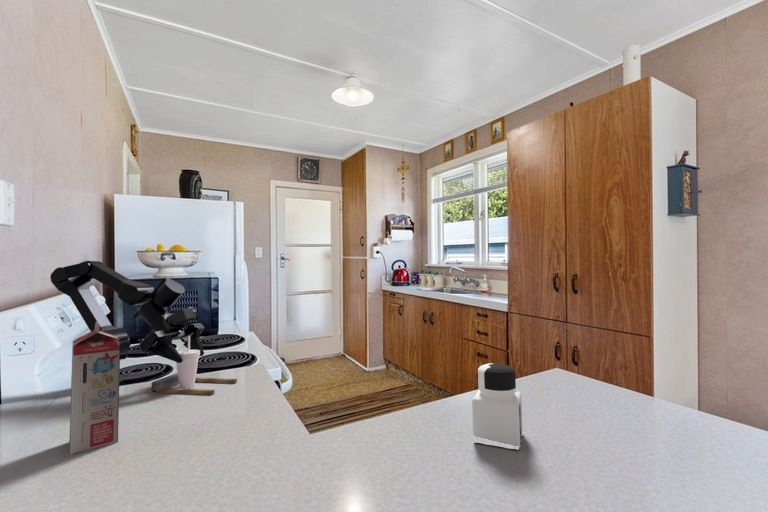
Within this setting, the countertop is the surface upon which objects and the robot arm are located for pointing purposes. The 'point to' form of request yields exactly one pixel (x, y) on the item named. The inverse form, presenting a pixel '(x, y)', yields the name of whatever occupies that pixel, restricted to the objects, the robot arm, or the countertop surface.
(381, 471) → the countertop surface
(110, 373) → the juice carton
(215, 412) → the countertop surface
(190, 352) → the smoothie
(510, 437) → the container
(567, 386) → the countertop surface
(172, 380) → the guide track
